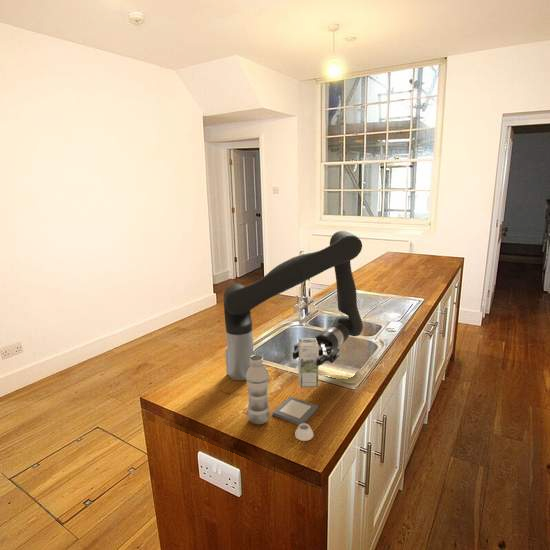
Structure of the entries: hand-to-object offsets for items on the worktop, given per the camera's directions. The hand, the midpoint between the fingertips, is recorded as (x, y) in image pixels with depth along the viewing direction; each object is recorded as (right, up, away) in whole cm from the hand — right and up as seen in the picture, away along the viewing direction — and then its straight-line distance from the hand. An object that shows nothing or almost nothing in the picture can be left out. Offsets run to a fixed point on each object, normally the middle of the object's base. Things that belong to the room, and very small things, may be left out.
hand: (305, 359), depth 118 cm
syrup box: (+1, -9, +4) cm, 9 cm away
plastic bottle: (-14, -17, -7) cm, 23 cm away
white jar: (-1, -18, -14) cm, 23 cm away
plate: (-3, -15, -3) cm, 16 cm away
